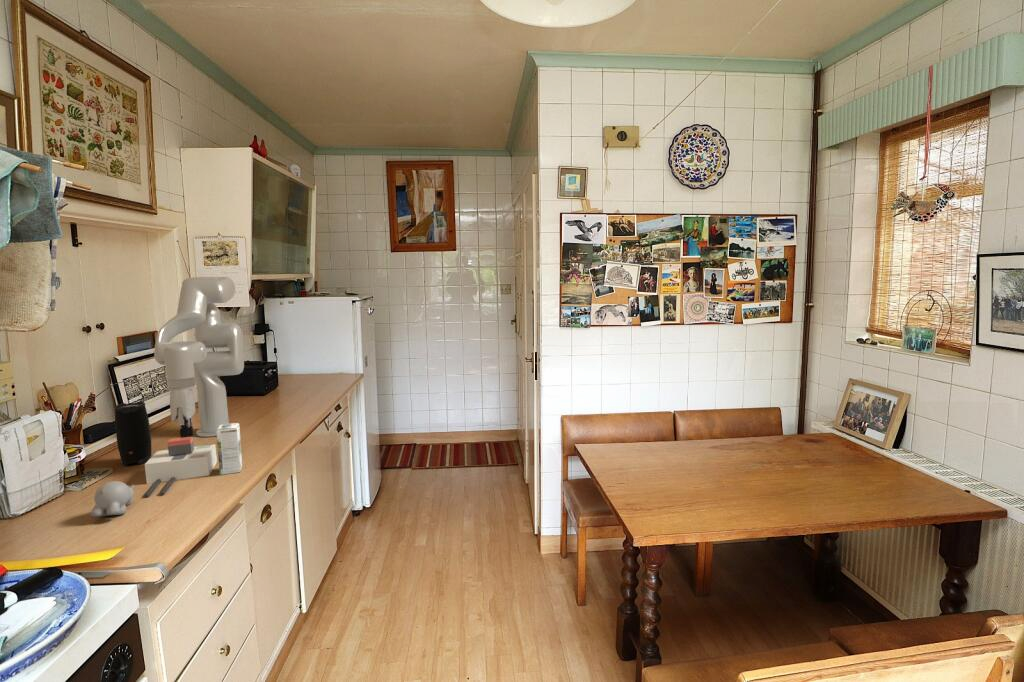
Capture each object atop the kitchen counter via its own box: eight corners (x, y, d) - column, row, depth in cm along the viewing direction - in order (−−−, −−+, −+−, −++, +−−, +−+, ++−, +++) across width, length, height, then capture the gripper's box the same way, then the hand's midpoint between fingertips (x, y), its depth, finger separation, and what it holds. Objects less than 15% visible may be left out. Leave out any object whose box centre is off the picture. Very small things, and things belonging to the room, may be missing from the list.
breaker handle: (171, 452, 155) (170, 438, 154) (194, 449, 157) (192, 436, 156) (168, 455, 152) (167, 441, 151) (191, 453, 154) (190, 439, 153)
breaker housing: (159, 469, 158) (157, 450, 157) (217, 461, 164) (215, 444, 163) (146, 483, 147) (144, 464, 146) (208, 475, 152) (207, 456, 152)
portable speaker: (140, 467, 160) (133, 407, 157) (112, 466, 160) (104, 408, 158) (160, 457, 169) (153, 400, 166) (133, 457, 169) (126, 400, 166)
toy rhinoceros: (144, 512, 135) (149, 479, 137) (115, 516, 123) (120, 480, 126) (115, 513, 134) (120, 480, 136) (83, 517, 123) (89, 481, 125)
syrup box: (222, 469, 158) (217, 424, 156) (243, 465, 160) (239, 422, 158) (219, 475, 152) (215, 429, 150) (241, 472, 155) (237, 427, 153)
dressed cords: (157, 482, 148) (156, 478, 148) (176, 480, 149) (175, 476, 149) (144, 498, 138) (143, 494, 137) (164, 495, 139) (164, 491, 139)
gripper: (174, 379, 164) (180, 433, 167) (160, 389, 151) (166, 448, 153) (200, 377, 167) (206, 430, 170) (189, 387, 153) (195, 444, 156)
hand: (187, 438), depth 161 cm, fingers closed
